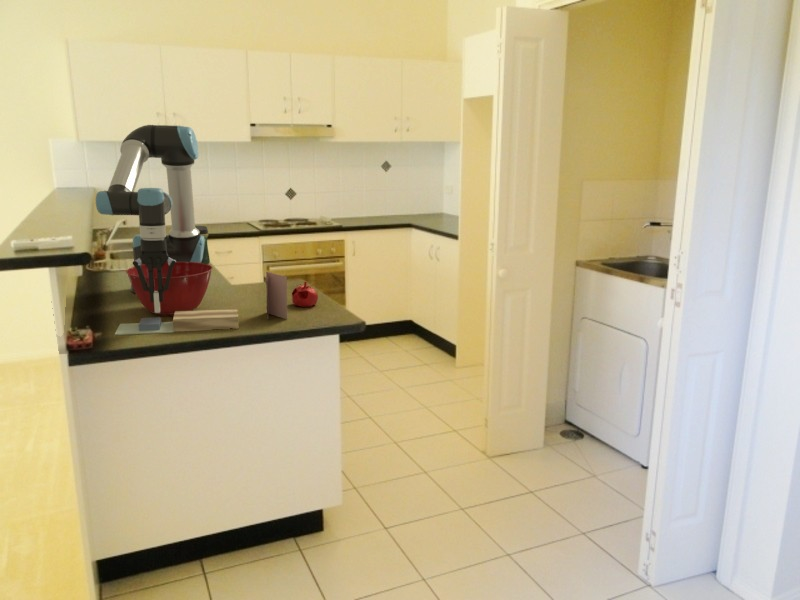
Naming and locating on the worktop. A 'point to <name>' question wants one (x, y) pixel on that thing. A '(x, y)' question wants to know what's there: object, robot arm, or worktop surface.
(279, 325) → the worktop surface
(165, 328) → the rubber mat
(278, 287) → the greeting card
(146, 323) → the blue-grey flat block
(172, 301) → the mixing bowl
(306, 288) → the pomegranate
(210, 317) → the tan block
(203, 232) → the coffee jar
